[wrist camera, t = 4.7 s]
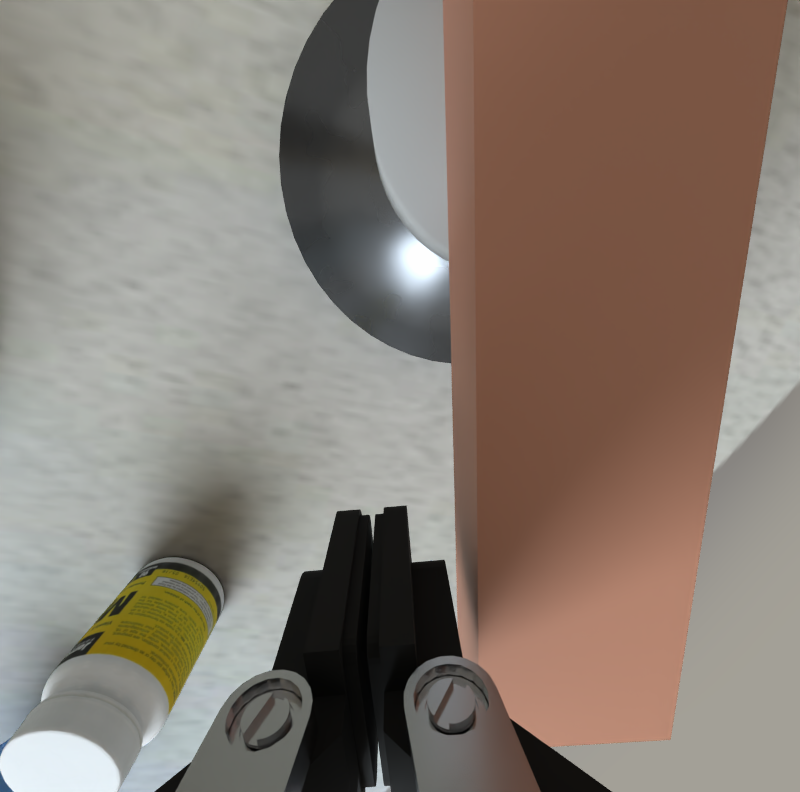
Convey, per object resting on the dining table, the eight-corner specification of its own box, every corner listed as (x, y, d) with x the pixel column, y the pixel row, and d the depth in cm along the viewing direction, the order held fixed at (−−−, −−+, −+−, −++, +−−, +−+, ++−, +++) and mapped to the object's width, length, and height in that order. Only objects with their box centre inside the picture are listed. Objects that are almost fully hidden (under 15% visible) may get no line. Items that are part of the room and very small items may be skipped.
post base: (320, -79, 15) (275, -303, 9) (695, 22, 16) (870, -123, 10) (272, 320, 19) (217, 341, 13) (578, 382, 20) (656, 427, 14)
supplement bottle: (156, 538, 21) (13, 698, 13) (241, 579, 22) (155, 754, 14) (120, 606, 22) (-33, 792, 14) (202, 643, 23) (101, 839, 15)
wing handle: (362, -24, 10) (324, -418, 4) (656, -41, 10) (1004, -457, 4) (401, 566, 15) (407, 755, 9) (604, 554, 15) (742, 735, 9)
